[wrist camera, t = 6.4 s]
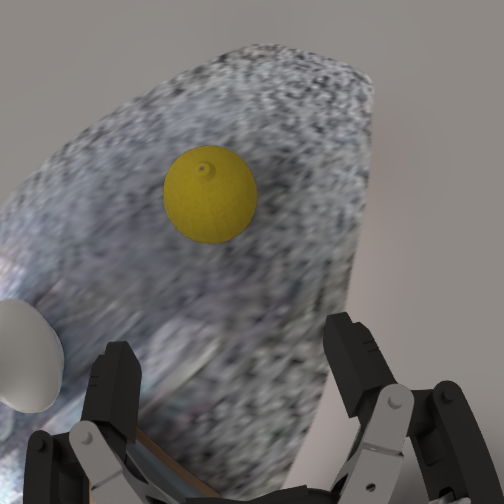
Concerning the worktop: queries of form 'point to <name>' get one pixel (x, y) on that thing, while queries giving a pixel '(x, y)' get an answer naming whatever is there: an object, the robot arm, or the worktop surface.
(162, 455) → the stop board
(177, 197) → the lemon
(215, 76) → the worktop surface
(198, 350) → the worktop surface
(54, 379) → the flower vase
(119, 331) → the worktop surface
